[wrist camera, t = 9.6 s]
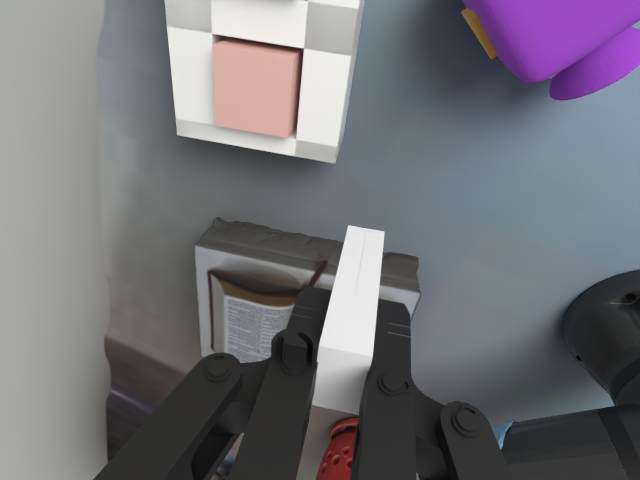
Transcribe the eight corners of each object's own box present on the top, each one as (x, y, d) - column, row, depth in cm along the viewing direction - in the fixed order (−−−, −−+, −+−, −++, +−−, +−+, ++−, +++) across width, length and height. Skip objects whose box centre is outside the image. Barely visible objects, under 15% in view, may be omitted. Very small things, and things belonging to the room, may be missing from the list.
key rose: (297, 123, 35) (287, 138, 32) (231, 111, 35) (215, 125, 32) (303, 49, 32) (293, 58, 29) (230, 37, 32) (212, 44, 29)
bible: (224, 179, 44) (185, 227, 36) (448, 265, 46) (458, 329, 38) (195, 314, 58) (162, 370, 50) (368, 377, 59) (363, 442, 51)
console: (343, 138, 39) (334, 163, 34) (204, 114, 40) (177, 135, 35) (387, -142, 27) (384, -165, 22) (190, -168, 28) (146, -195, 23)
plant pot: (353, 399, 62) (344, 479, 53) (419, 435, 65) (422, 518, 55) (310, 431, 70) (295, 507, 60) (371, 462, 72) (366, 540, 62)
